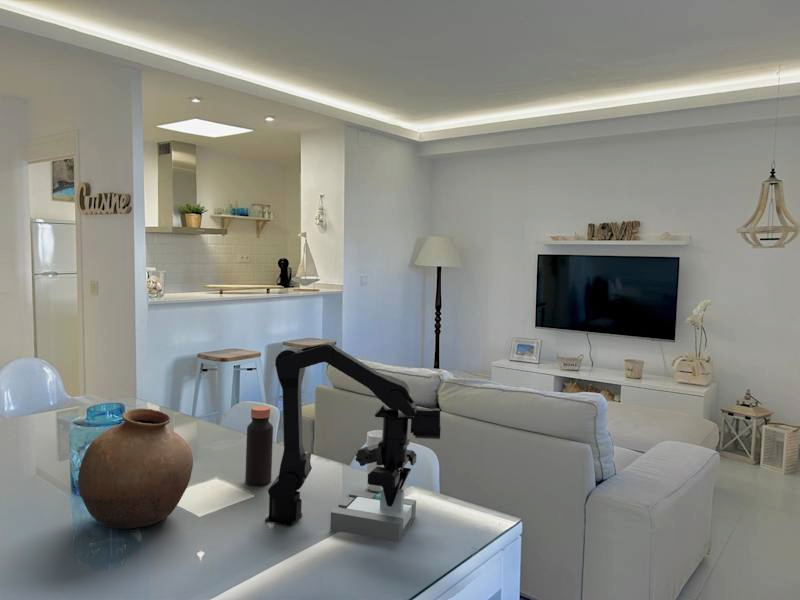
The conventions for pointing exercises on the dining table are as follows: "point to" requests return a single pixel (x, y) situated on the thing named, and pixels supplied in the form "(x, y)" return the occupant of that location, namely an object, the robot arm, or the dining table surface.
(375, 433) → the drinking glass
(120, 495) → the pottery
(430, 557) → the dining table surface
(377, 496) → the teal egg-shaped capsule
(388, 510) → the white stepped block
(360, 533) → the filter housing
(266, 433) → the bottle
